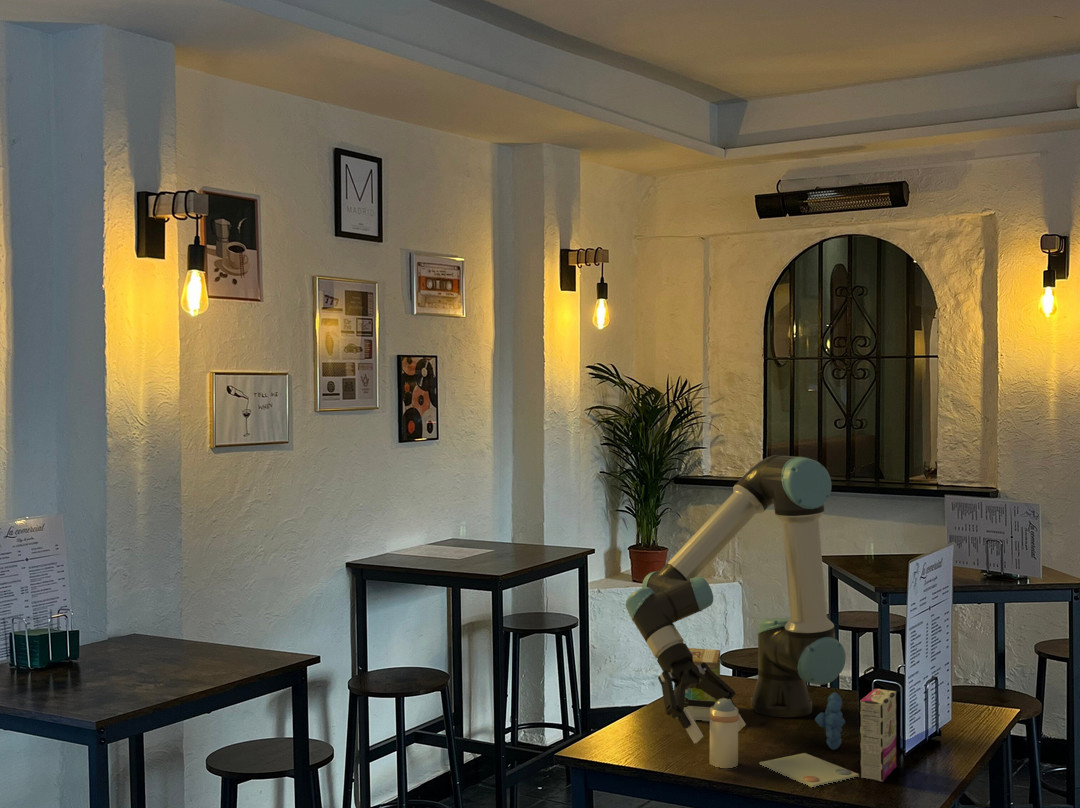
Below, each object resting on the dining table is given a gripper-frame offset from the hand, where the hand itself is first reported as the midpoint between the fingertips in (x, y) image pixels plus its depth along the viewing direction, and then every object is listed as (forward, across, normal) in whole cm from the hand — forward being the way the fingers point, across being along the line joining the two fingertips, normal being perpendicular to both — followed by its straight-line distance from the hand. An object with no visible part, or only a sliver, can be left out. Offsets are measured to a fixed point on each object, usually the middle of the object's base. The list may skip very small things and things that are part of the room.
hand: (720, 734), depth 241 cm
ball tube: (+5, -1, -4) cm, 7 cm away
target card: (+15, -12, +6) cm, 20 cm away
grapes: (+10, -29, 0) cm, 31 cm away
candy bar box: (+22, -22, +12) cm, 33 cm away
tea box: (-16, -26, -26) cm, 40 cm away
